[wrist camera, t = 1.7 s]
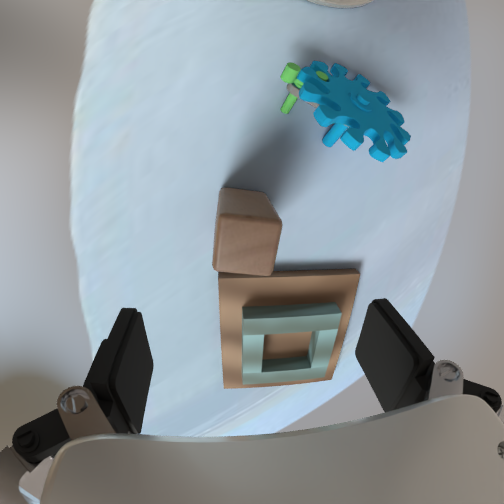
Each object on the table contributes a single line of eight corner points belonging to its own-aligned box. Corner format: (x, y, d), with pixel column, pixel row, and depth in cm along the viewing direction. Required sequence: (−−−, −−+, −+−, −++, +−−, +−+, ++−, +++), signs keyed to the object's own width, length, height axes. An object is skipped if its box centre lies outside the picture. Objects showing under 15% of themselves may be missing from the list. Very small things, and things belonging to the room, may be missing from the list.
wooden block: (220, 185, 24) (218, 213, 17) (266, 191, 24) (284, 221, 17) (214, 229, 25) (211, 273, 18) (258, 234, 26) (272, 279, 19)
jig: (218, 272, 27) (218, 290, 24) (355, 268, 29) (368, 284, 26) (223, 381, 34) (224, 400, 31) (329, 373, 35) (335, 390, 32)
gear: (411, 105, 20) (418, 177, 16) (376, 140, 26) (367, 214, 21) (306, 37, 19) (271, 82, 14) (281, 83, 24) (242, 143, 20)
